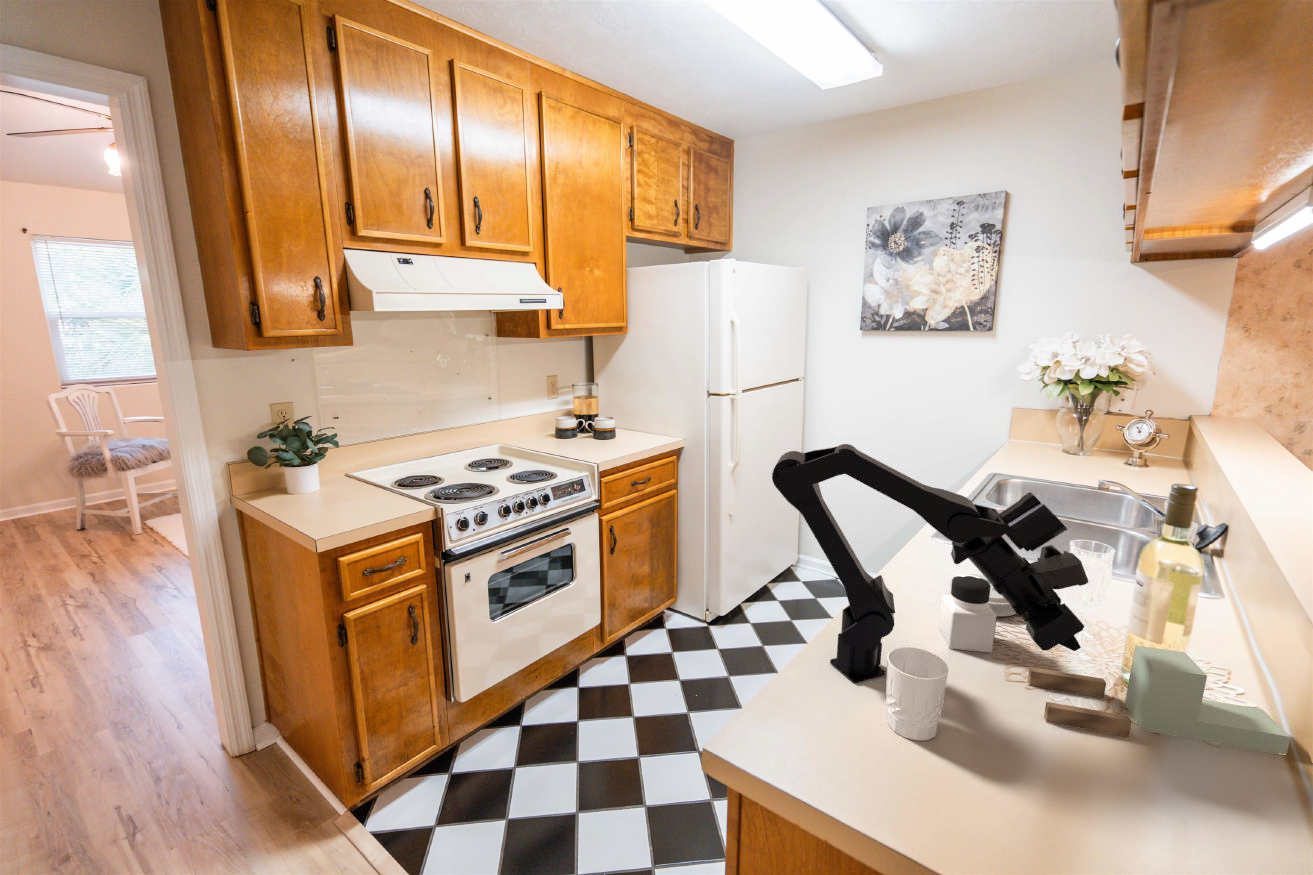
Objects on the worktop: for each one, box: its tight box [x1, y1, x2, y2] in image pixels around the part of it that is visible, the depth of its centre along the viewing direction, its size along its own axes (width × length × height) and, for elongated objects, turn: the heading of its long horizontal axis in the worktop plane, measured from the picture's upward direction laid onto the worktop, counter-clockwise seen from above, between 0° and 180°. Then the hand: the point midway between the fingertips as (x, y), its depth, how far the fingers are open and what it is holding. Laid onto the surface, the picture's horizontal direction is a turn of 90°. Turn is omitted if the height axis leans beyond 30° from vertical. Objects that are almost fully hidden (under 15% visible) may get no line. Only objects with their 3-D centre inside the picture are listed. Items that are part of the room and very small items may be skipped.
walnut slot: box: [1027, 666, 1133, 738], centre depth 89 cm, size 10×10×2 cm
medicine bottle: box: [938, 574, 998, 654], centre depth 107 cm, size 7×7×12 cm
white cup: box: [885, 647, 949, 742], centre depth 85 cm, size 8×8×10 cm
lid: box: [948, 573, 1017, 617], centre depth 121 cm, size 13×13×5 cm
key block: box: [1124, 644, 1291, 755], centre depth 84 cm, size 16×6×10 cm, turn 72°
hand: (1077, 648), depth 88 cm, fingers closed
